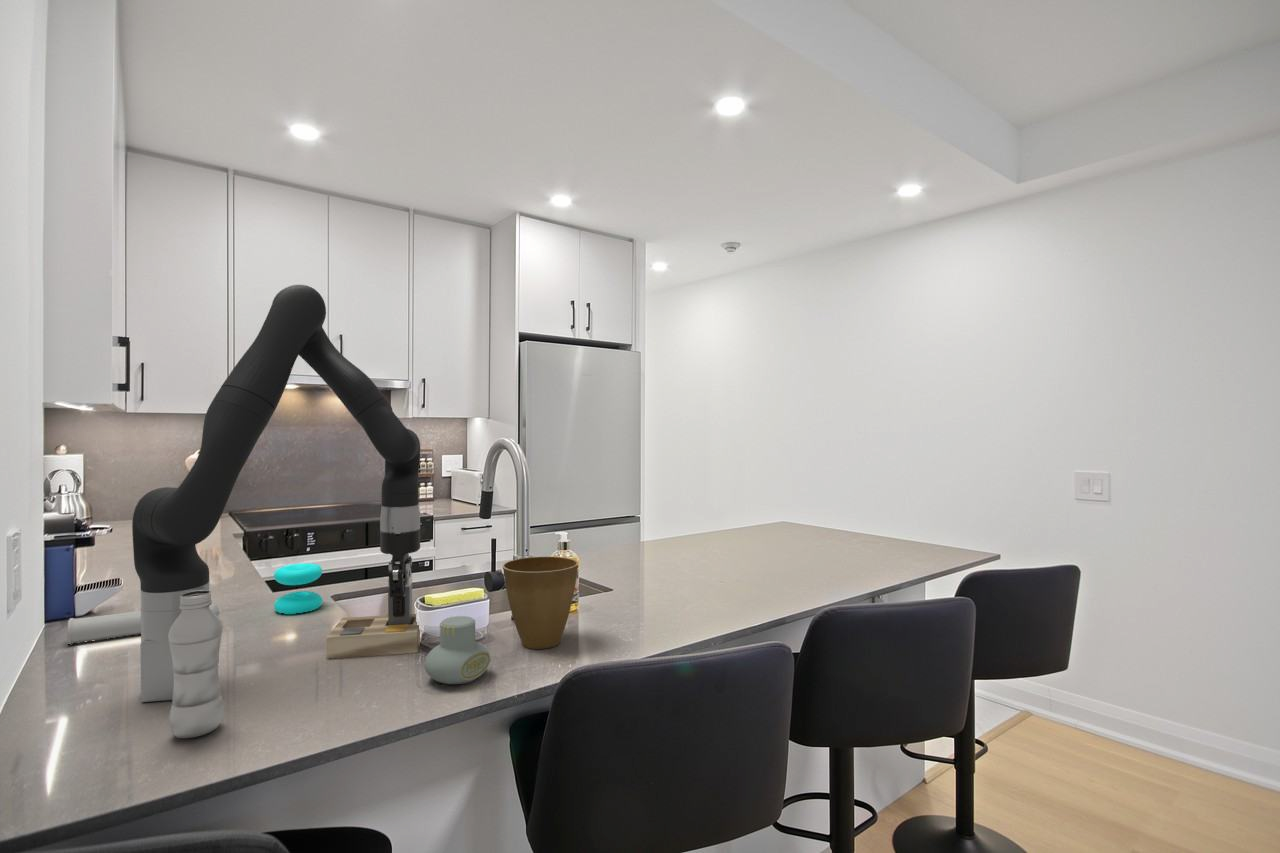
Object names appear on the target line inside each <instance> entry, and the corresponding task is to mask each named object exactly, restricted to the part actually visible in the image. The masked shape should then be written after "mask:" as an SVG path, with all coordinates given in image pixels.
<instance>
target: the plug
mask: <svg viewBox="0 0 1280 853" xmlns="http://www.w3.org/2000/svg"><path fill="white" fill-rule="evenodd" d="M404 580H405V578H404V579H403V581H404ZM395 591H400V588H399V587H396V588H395ZM405 593H406V596H405V615H404V616H402V617H394V616H393V598H392V597H390V588H389V578H388V579H387V600H388V601H387V605H388V606H387V610H388V612H387V615H388V625H403V624H408V625H410V624H412V614H413V573H411V575H409V578H408V584H407V585H406V586H405Z"/></svg>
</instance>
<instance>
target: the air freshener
mask: <svg viewBox="0 0 1280 853" xmlns="http://www.w3.org/2000/svg"><path fill="white" fill-rule="evenodd" d="M439 630H440V631H439V644H438V645H436V646H434V647H433V648H432V649H431V650H430V651H429V652H428V654H427V655H426V657H425V659H424V669H425V672H426V674H427V675H428V677H430V678H431V679H433V680H434V681H435V682H438V683H441V684H445V685H464V684H470V683H472V682H473V681H474V680H476V679H477V678H479V677H480V676H482V674H484V673H485V672H486V670H487V669H488V667H489V666H490V662H491V653H490V652H489V649H488V648H487V647H486V646H485V645H484V644H482V643H480V642H479V641H476V620H475V619H474V618H473V617H471V616H467V615H459V616H458V615H457V616H450V617H447V618H444V619H443V620H442V621H441V622H440V623H439Z"/></svg>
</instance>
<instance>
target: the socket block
mask: <svg viewBox="0 0 1280 853" xmlns="http://www.w3.org/2000/svg"><path fill="white" fill-rule="evenodd" d="M416 614H417V613H412V624H410V625H408V624H403V625H388V614H387V615H385V614H384V615H374V616H373V615H372V616H371V615H370V616H369V615H368V616H351V617H342V618H341V619H340V620H339V622H337V624H336V625H335V626H334V628H333V629H332V630H331V631H330V633H329V634H328V635H327V636H326V660H330V659H329V658H331V659H342V658H357V657H372V656H374V657H375V656H386V655H387V656H388V655H402V654H403V655H404V654H416V653H418V650H419V648H420V645H421V643H420V630H419V625H417V622H416Z"/></svg>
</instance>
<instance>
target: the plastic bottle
mask: <svg viewBox="0 0 1280 853" xmlns="http://www.w3.org/2000/svg"><path fill="white" fill-rule="evenodd" d="M212 603H213V600H212V591H211V590H210V589H209V590H197V591H190V592H186V593H183V594H181V597H180V605H179V608H180V609H181V610H182V613H181V614H180V615H179V616H178V618H177V619H176V620H175V622H174V623H173V625H172V626H171V628H170V631H169V634H168V638H169V645H170V650H171V655H172V661H173V671H174V688H173V700H171V702H172V703H171V706H170V711H169V717H168V724H169V727H170V732H171V733H172V734H173V735H174V737H176V738H178V739H191V738H197V737H201V736H204V735H207V734H209V733H211V732H213V731H215V730H216V729H217V728H219V726H220V724H222V721H223V719H224V712H225V705H224V699H223V697H222V693H221V685H220V684H221V683H220V676H219V667H220V666H219V664H220V663H219V662H220V651H221V650H220V649H221V643H222V636H223V635H222V634H223V627H224V626H223V623H222V621H221V619H220V618H219V616H218V617H217V615H216V614H215V613H214V612H213V611H212V610H211V609H210V605H211V604H212Z"/></svg>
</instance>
